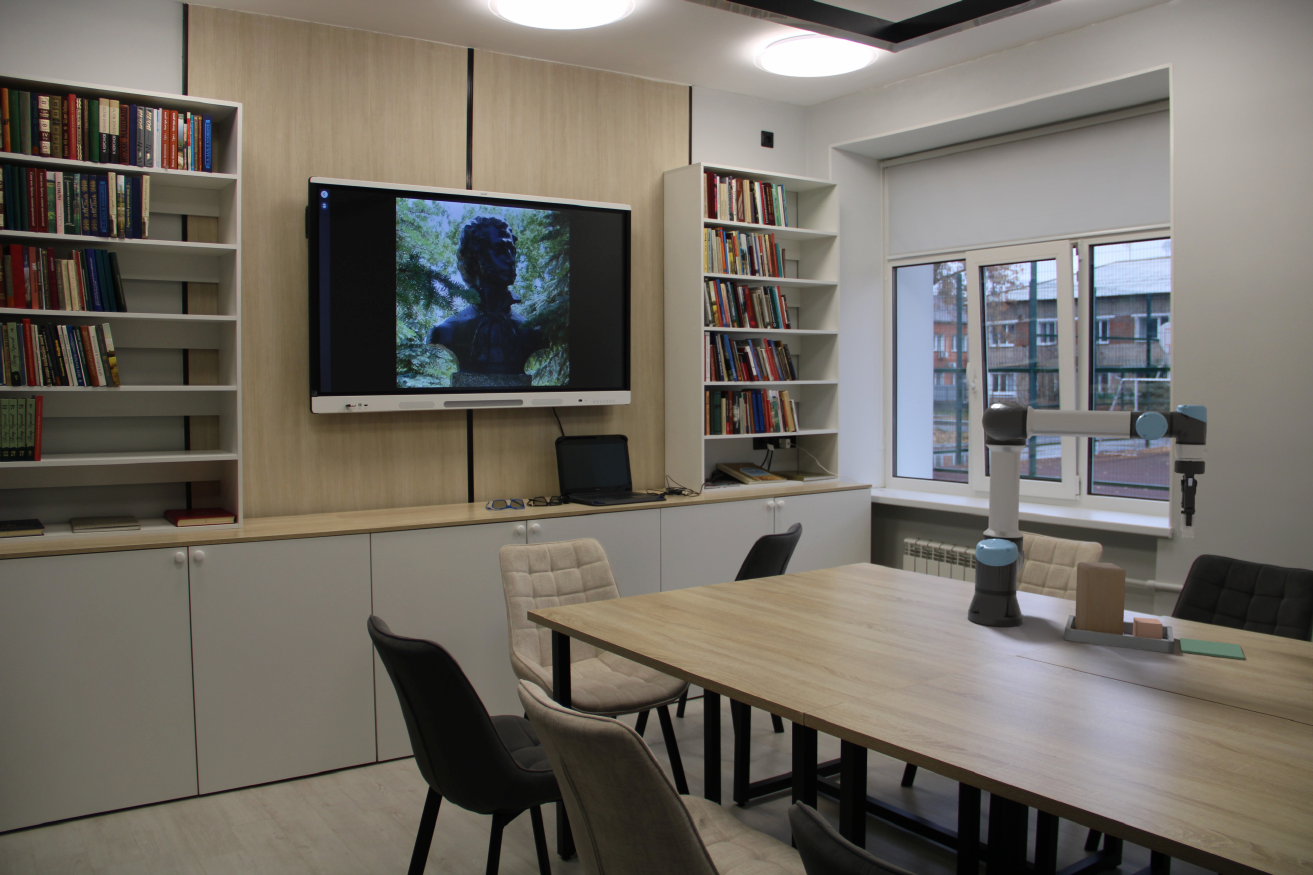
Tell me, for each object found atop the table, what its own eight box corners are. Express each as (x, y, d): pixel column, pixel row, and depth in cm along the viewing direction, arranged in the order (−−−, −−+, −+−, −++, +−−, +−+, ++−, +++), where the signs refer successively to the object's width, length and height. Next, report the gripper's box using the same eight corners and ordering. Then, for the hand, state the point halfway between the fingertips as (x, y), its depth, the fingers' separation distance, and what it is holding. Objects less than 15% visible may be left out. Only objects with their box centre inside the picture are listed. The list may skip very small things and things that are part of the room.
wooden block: (1110, 632, 266) (1112, 562, 264) (1124, 641, 256) (1127, 569, 255) (1073, 630, 267) (1076, 561, 265) (1086, 640, 257) (1088, 567, 256)
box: (1136, 644, 254) (1137, 622, 253) (1132, 638, 259) (1133, 617, 259) (1161, 646, 252) (1162, 624, 252) (1156, 640, 258) (1157, 618, 257)
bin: (1064, 639, 257) (1064, 629, 257) (1068, 625, 273) (1069, 615, 273) (1173, 653, 245) (1174, 641, 245) (1171, 637, 261) (1172, 626, 261)
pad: (1181, 652, 246) (1181, 650, 246) (1179, 639, 258) (1179, 637, 258) (1244, 659, 239) (1244, 657, 239) (1239, 646, 252) (1239, 644, 252)
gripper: (1208, 463, 251) (1204, 541, 252) (1202, 457, 273) (1199, 529, 275) (1176, 461, 255) (1173, 539, 256) (1173, 456, 277) (1170, 527, 278)
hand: (1186, 534), depth 265 cm, fingers open, 13 cm apart
